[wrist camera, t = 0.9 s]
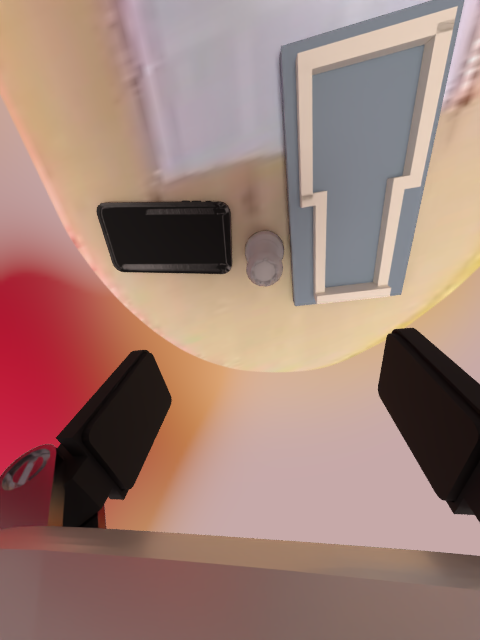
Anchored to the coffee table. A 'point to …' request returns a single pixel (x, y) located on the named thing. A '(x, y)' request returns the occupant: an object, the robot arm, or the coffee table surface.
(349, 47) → the keyhole board
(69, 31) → the coffee table surface
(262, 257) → the rook chess piece
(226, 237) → the phone
